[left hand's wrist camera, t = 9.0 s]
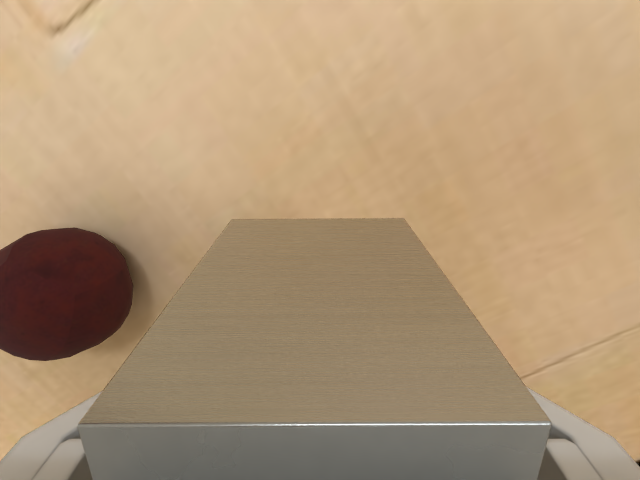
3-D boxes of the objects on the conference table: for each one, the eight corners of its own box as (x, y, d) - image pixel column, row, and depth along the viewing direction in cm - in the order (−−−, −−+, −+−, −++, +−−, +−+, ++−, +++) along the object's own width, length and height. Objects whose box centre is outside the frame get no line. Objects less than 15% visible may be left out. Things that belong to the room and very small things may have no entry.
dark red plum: (24, 288, 25) (-79, 353, 19) (58, 191, 23) (-45, 225, 17) (128, 335, 27) (65, 411, 20) (170, 246, 24) (115, 299, 18)
